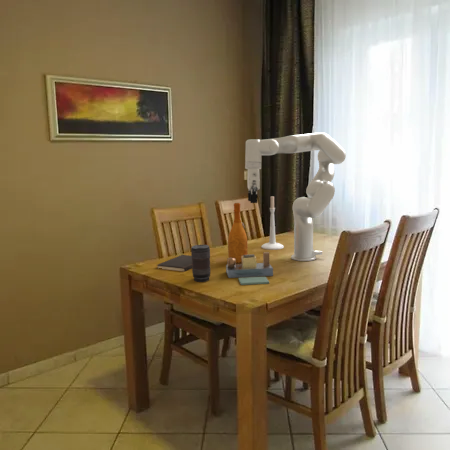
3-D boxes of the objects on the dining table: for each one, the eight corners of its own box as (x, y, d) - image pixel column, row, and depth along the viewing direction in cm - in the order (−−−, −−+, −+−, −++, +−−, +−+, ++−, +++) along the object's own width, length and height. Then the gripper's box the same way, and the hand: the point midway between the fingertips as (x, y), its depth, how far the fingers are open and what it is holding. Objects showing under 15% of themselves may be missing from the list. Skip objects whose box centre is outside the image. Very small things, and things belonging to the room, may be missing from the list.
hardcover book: (156, 269, 216) (156, 264, 216) (182, 259, 236) (182, 254, 236) (184, 272, 209) (184, 268, 208) (208, 261, 229) (208, 257, 228)
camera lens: (192, 277, 198) (190, 244, 196) (210, 276, 199) (209, 244, 196) (192, 282, 190) (191, 248, 188) (211, 282, 191) (210, 247, 188)
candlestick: (287, 246, 259) (287, 195, 255) (277, 250, 249) (277, 197, 244) (267, 244, 266) (267, 194, 261) (257, 248, 256) (256, 196, 251)
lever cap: (254, 264, 204) (254, 253, 204) (256, 267, 200) (256, 255, 199) (241, 265, 204) (241, 254, 203) (243, 268, 199) (243, 256, 198)
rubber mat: (265, 278, 195) (265, 276, 194) (269, 283, 187) (269, 281, 187) (238, 279, 193) (238, 277, 193) (240, 285, 186) (240, 283, 185)
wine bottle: (246, 264, 220) (245, 203, 215) (226, 263, 222) (225, 203, 217) (249, 259, 229) (248, 201, 225) (230, 258, 231) (229, 201, 227)
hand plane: (268, 269, 208) (268, 250, 207) (273, 275, 198) (272, 254, 197) (226, 271, 206) (225, 252, 205) (228, 277, 196) (228, 256, 195)
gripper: (263, 166, 202) (262, 203, 204) (258, 165, 219) (257, 200, 221) (247, 166, 201) (246, 203, 204) (243, 165, 218) (242, 200, 221)
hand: (252, 201), depth 213 cm, fingers open, 9 cm apart
